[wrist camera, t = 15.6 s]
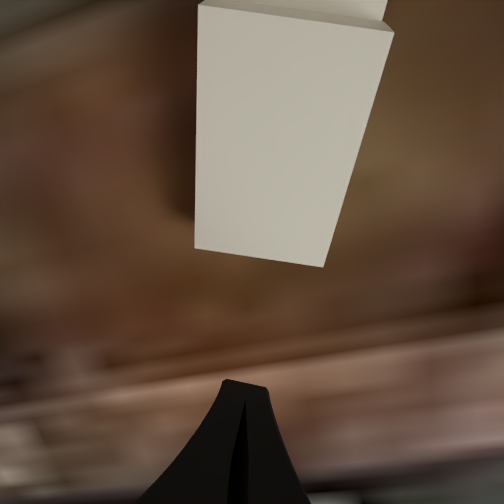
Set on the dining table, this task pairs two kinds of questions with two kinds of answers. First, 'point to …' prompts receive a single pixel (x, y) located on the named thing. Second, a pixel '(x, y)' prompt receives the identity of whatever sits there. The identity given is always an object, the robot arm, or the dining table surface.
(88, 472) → the dining table surface
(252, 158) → the ivory domino
